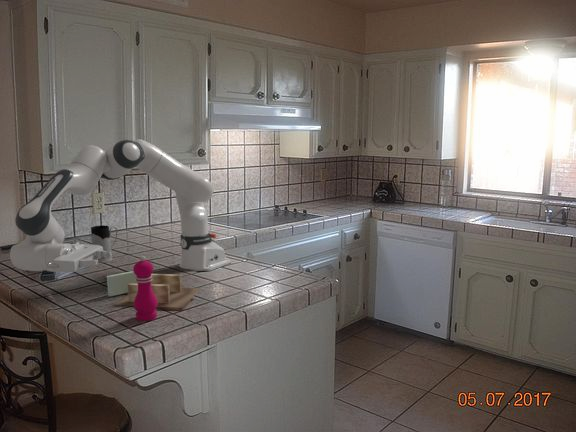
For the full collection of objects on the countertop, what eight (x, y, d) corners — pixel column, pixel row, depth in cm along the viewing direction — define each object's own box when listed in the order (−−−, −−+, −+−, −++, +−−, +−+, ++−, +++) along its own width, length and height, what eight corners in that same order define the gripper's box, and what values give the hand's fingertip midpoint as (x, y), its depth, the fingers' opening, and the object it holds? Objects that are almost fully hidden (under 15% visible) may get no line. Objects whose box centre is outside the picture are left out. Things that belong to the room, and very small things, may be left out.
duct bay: (113, 307, 176) (111, 287, 174) (138, 288, 195) (136, 270, 194) (182, 310, 172) (181, 289, 171) (201, 290, 192) (200, 272, 190)
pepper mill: (160, 313, 170) (156, 252, 166) (155, 321, 163) (151, 258, 159) (137, 313, 170) (133, 253, 166) (132, 322, 163) (127, 259, 159)
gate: (108, 295, 184) (106, 276, 183) (140, 288, 191) (138, 270, 190) (109, 296, 183) (108, 277, 182) (141, 289, 190) (140, 270, 188)
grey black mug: (87, 261, 234) (84, 228, 231) (111, 253, 247) (109, 222, 244) (101, 263, 230) (99, 229, 227) (125, 255, 242) (123, 223, 240)
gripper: (42, 256, 155) (87, 257, 153) (77, 240, 175) (117, 241, 173) (44, 276, 156) (88, 278, 155) (78, 259, 176) (118, 260, 175)
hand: (104, 258), depth 164 cm, fingers open, 8 cm apart
